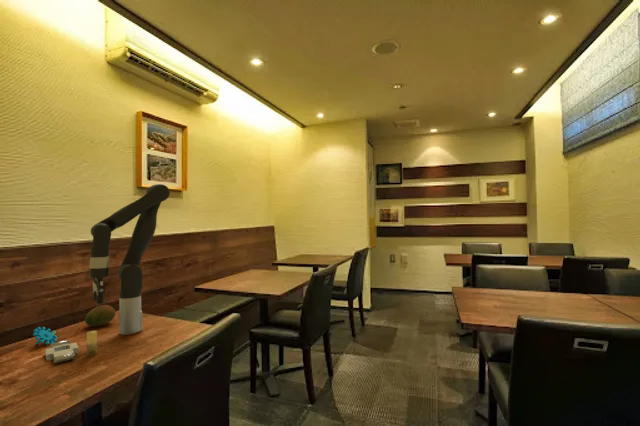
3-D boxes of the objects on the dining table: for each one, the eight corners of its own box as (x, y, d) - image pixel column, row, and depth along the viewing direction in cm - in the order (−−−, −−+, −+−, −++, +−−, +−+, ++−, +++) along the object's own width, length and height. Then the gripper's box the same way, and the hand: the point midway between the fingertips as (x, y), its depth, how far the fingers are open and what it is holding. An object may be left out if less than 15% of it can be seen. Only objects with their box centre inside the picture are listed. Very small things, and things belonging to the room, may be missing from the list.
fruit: (119, 322, 172) (119, 303, 172) (98, 330, 159) (98, 310, 160) (101, 320, 174) (101, 302, 174) (79, 328, 162) (79, 308, 162)
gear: (45, 344, 137) (30, 328, 138) (34, 355, 137) (19, 338, 137) (64, 338, 148) (50, 323, 149) (54, 348, 147) (39, 332, 148)
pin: (96, 351, 134) (96, 329, 134) (98, 353, 132) (98, 331, 132) (86, 353, 132) (86, 331, 132) (87, 356, 129) (87, 334, 129)
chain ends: (73, 343, 143) (73, 337, 143) (81, 358, 127) (81, 351, 127) (44, 349, 136) (44, 343, 136) (48, 367, 120) (48, 359, 120)
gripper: (112, 267, 146) (110, 303, 145) (105, 264, 156) (104, 297, 156) (92, 269, 141) (90, 306, 140) (87, 265, 151) (85, 300, 150)
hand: (97, 301), depth 148 cm, fingers open, 8 cm apart
